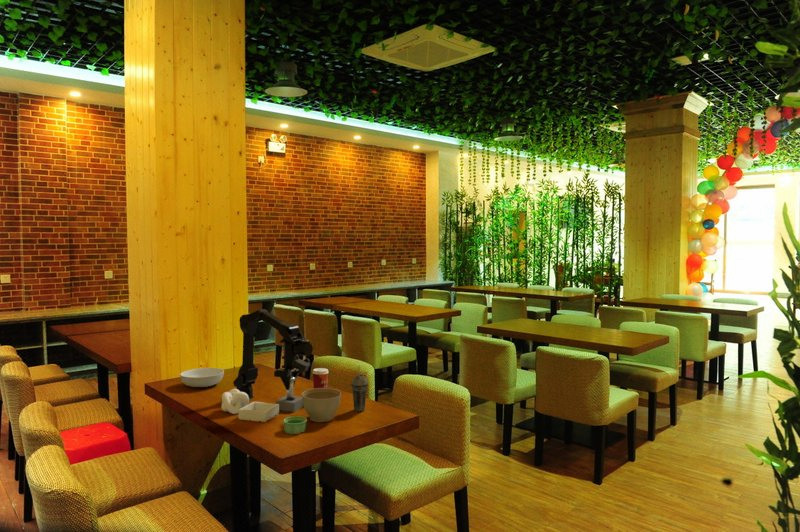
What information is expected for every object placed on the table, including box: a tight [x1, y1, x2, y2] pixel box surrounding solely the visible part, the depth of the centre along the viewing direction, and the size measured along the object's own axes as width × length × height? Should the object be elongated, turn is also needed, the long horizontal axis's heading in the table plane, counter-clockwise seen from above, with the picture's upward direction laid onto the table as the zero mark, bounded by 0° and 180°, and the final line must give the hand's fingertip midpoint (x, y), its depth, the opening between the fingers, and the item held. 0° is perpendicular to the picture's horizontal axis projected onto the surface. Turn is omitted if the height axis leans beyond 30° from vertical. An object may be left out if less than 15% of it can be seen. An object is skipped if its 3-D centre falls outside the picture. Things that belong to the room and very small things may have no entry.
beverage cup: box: [351, 365, 369, 413], centre depth 236 cm, size 7×7×20 cm
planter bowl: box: [301, 387, 342, 423], centre depth 224 cm, size 16×16×11 cm
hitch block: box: [275, 395, 304, 413], centre depth 238 cm, size 9×9×4 cm
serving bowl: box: [179, 367, 225, 388], centre depth 273 cm, size 21×21×7 cm
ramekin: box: [283, 415, 308, 435], centre depth 210 cm, size 9×9×4 cm
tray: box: [238, 401, 280, 423], centre depth 226 cm, size 12×12×4 cm
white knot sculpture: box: [221, 388, 250, 415], centre depth 233 cm, size 11×12×9 cm
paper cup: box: [311, 367, 329, 389], centre depth 252 cm, size 8×8×14 cm
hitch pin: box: [286, 376, 297, 401], centre depth 238 cm, size 5×5×10 cm
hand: (290, 388), depth 238 cm, fingers closed on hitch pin, 4 cm apart
